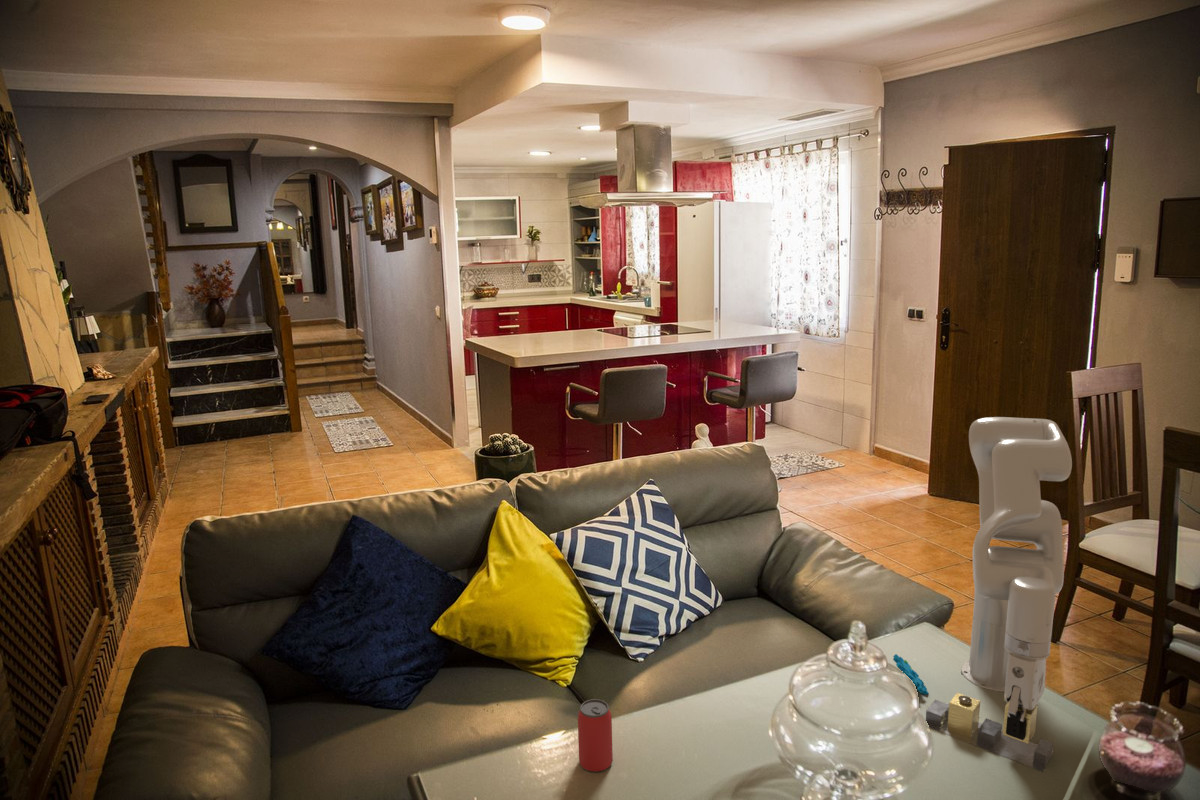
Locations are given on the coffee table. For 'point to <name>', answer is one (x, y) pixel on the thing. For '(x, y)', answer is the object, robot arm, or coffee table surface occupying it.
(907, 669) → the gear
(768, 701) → the coffee table surface
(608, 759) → the beer can
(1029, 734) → the brass nut block
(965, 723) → the seated nut block
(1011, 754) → the rail
